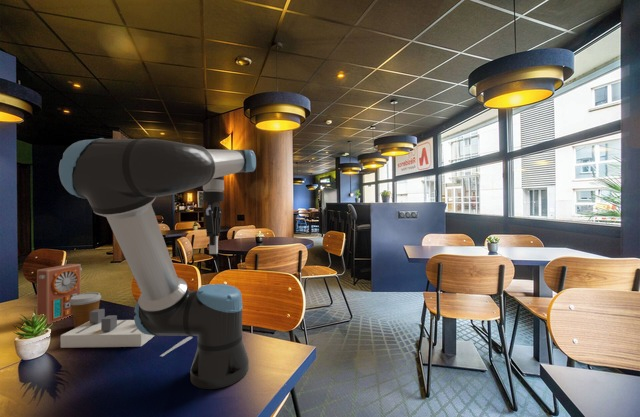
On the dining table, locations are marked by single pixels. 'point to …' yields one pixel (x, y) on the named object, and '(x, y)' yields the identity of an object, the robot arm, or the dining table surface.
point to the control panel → (57, 290)
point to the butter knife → (177, 345)
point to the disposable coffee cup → (84, 307)
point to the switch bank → (105, 336)
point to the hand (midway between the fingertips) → (213, 253)
